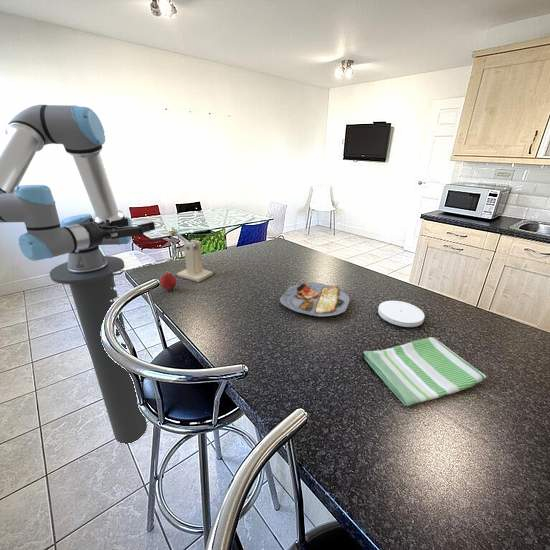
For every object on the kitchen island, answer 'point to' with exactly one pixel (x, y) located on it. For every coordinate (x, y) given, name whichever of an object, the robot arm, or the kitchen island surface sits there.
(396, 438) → the kitchen island surface
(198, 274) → the bracket
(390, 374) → the dish towel
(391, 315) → the plastic lid
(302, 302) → the food plate
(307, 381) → the kitchen island surface
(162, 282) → the onion
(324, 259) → the kitchen island surface
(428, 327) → the kitchen island surface
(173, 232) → the lever
